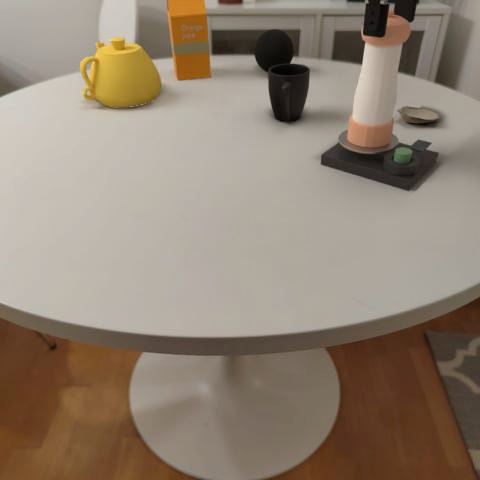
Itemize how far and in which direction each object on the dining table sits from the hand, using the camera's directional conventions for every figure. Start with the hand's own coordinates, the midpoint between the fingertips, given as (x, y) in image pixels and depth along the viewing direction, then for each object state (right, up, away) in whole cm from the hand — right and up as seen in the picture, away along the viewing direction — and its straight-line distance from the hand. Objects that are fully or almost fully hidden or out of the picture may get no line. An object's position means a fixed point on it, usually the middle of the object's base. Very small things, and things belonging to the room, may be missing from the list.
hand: (388, 28), depth 67 cm
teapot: (-50, +7, +42) cm, 66 cm away
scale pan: (+2, -14, +10) cm, 17 cm away
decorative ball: (-13, +18, +53) cm, 57 cm away
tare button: (+4, -18, +6) cm, 19 cm away
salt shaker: (0, -13, +11) cm, 17 cm away
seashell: (+14, -5, +26) cm, 30 cm away
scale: (+2, -17, +12) cm, 21 cm away
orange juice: (-34, +18, +53) cm, 66 cm away
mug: (-12, -3, +28) cm, 31 cm away
